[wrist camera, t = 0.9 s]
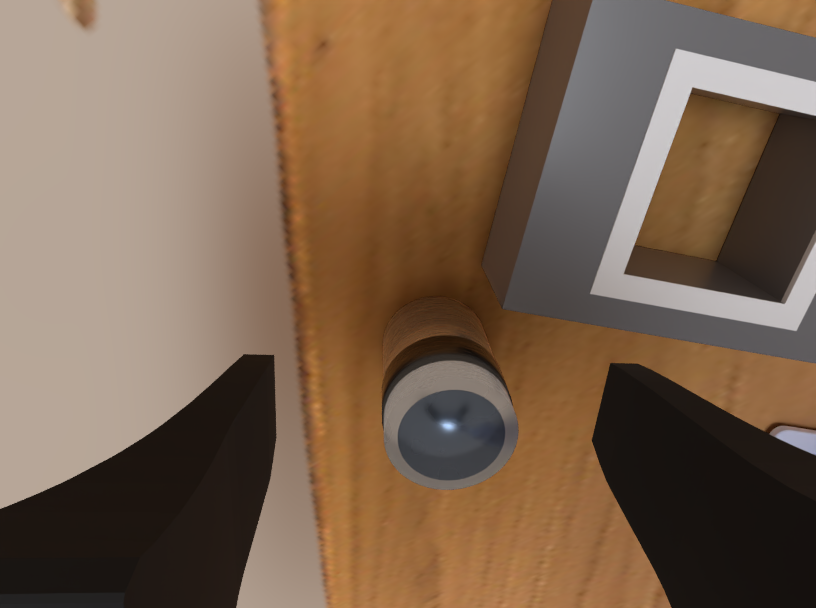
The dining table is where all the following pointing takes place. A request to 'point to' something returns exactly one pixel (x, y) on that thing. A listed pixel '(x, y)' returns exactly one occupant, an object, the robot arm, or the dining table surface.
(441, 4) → the dining table surface
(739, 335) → the grey hollow block
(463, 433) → the lens
